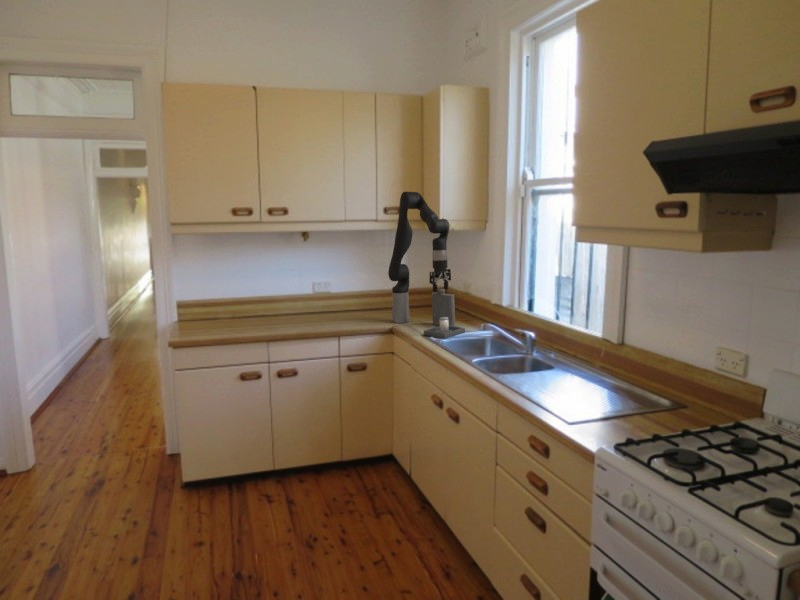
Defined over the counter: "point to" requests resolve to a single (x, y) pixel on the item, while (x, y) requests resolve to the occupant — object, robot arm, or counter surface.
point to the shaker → (444, 325)
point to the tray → (436, 333)
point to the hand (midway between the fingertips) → (440, 290)
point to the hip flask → (443, 307)
